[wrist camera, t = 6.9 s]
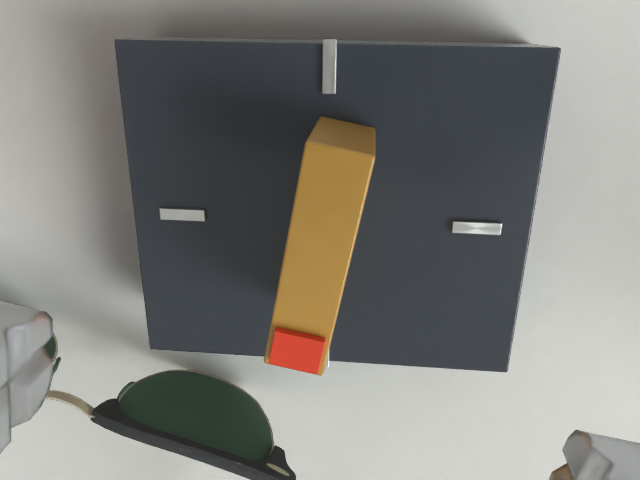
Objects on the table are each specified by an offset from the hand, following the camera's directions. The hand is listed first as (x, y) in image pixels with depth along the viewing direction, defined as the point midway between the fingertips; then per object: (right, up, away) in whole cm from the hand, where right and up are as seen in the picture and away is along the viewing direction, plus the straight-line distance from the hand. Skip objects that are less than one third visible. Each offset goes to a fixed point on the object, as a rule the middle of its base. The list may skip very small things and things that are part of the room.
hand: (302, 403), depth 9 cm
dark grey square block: (+1, +4, +11) cm, 12 cm away
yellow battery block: (0, +3, +8) cm, 9 cm away
